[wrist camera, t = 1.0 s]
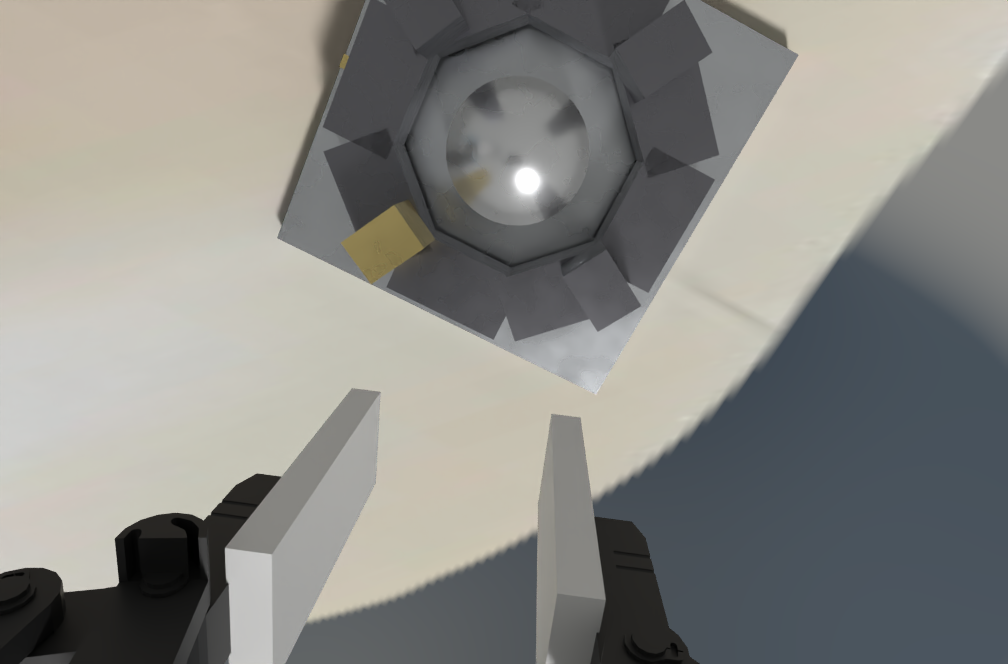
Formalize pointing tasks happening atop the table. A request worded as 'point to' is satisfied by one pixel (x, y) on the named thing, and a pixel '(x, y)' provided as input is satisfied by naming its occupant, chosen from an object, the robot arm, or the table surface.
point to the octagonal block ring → (561, 276)
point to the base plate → (539, 163)
